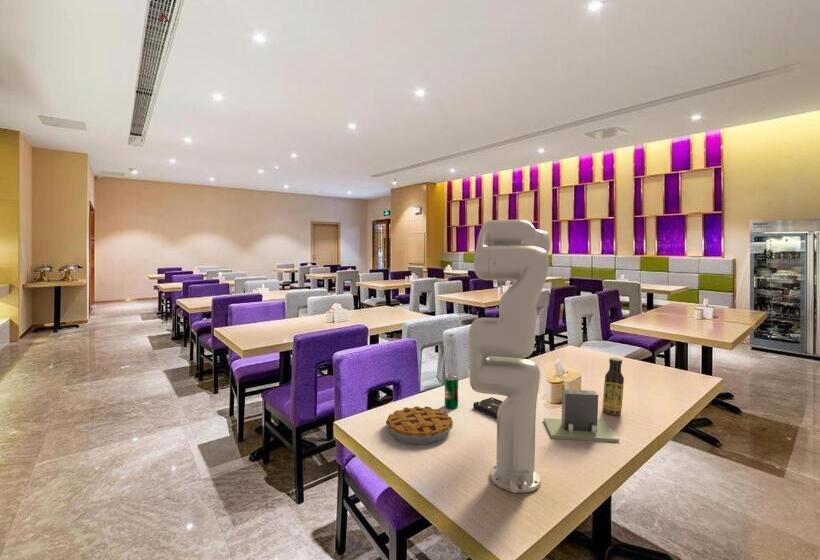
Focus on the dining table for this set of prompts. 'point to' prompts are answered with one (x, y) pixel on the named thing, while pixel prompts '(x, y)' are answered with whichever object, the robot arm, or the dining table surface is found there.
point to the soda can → (451, 391)
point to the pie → (419, 425)
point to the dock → (559, 433)
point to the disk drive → (488, 406)
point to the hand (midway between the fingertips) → (520, 320)
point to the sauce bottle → (613, 388)
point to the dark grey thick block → (579, 409)
